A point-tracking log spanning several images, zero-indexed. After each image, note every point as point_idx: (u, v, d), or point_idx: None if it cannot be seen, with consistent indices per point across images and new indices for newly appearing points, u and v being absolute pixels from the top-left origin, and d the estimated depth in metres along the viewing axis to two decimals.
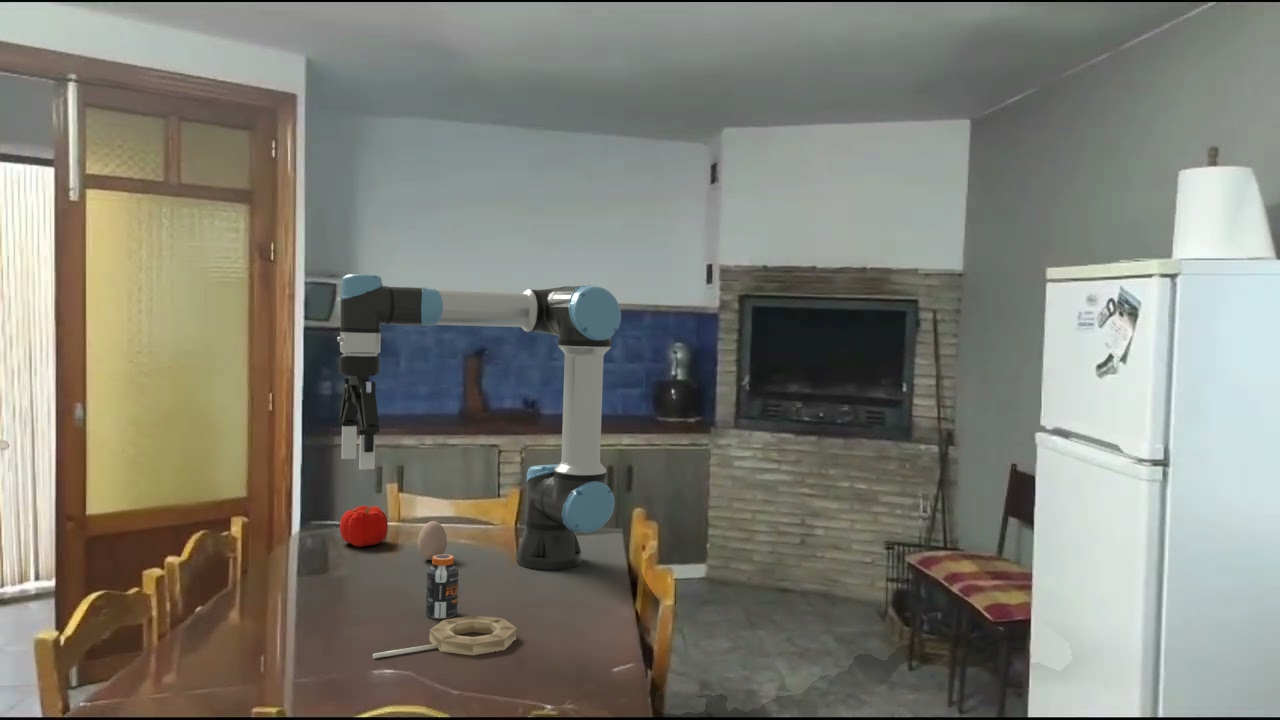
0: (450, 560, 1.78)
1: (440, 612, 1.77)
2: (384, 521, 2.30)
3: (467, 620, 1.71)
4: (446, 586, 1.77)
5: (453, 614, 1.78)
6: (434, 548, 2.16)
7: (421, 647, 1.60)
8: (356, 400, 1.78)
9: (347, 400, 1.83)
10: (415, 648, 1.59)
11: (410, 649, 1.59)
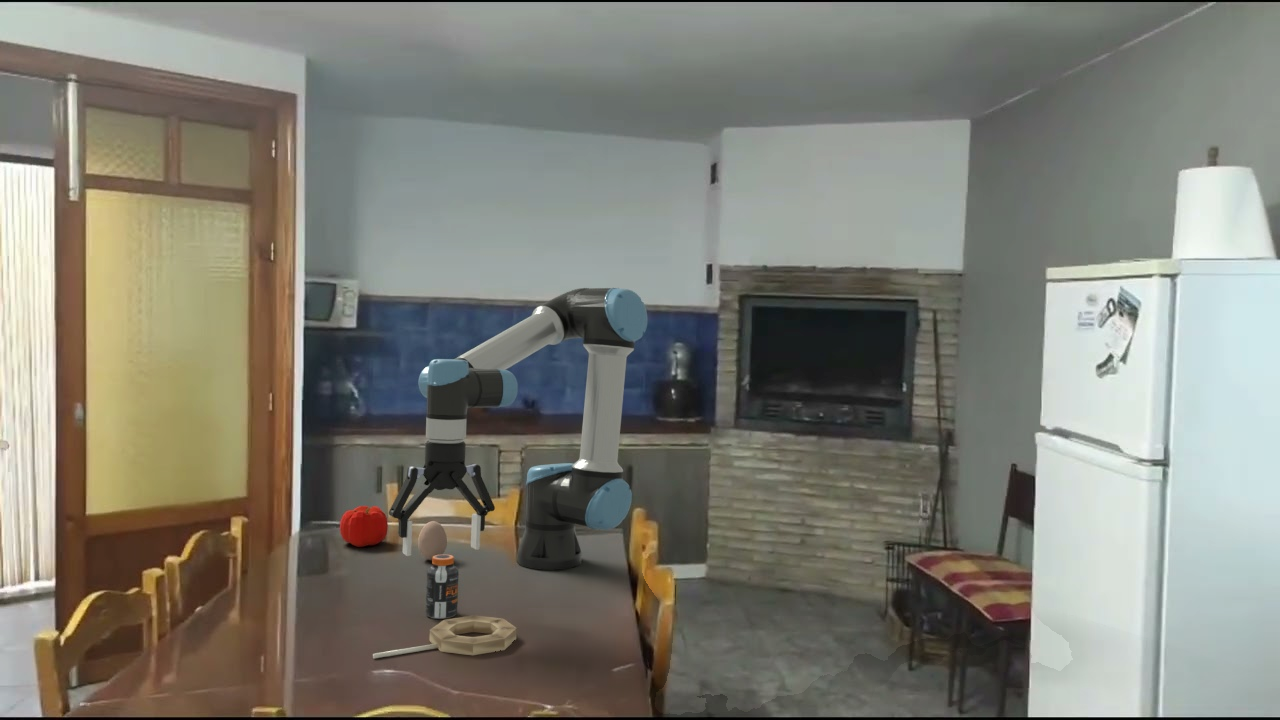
0: (450, 560, 1.78)
1: (440, 612, 1.77)
2: (384, 521, 2.30)
3: (467, 620, 1.71)
4: (446, 586, 1.77)
5: (453, 614, 1.78)
6: (434, 548, 2.16)
7: (421, 647, 1.60)
8: (422, 484, 1.78)
9: None
10: (415, 648, 1.59)
11: (410, 649, 1.59)
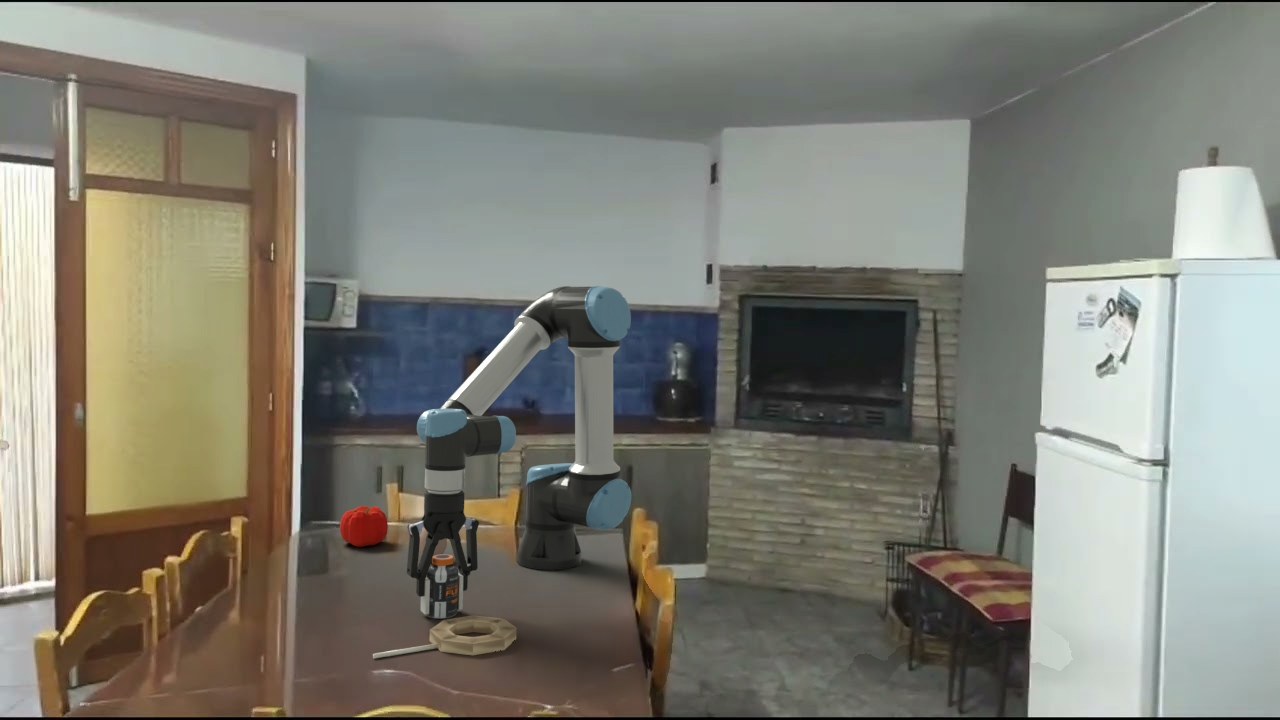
0: (450, 560, 1.78)
1: (440, 612, 1.77)
2: (384, 521, 2.30)
3: (467, 620, 1.71)
4: (446, 585, 1.77)
5: (453, 614, 1.78)
6: None
7: (421, 647, 1.60)
8: (426, 538, 1.79)
9: None
10: (415, 648, 1.59)
11: (410, 649, 1.59)
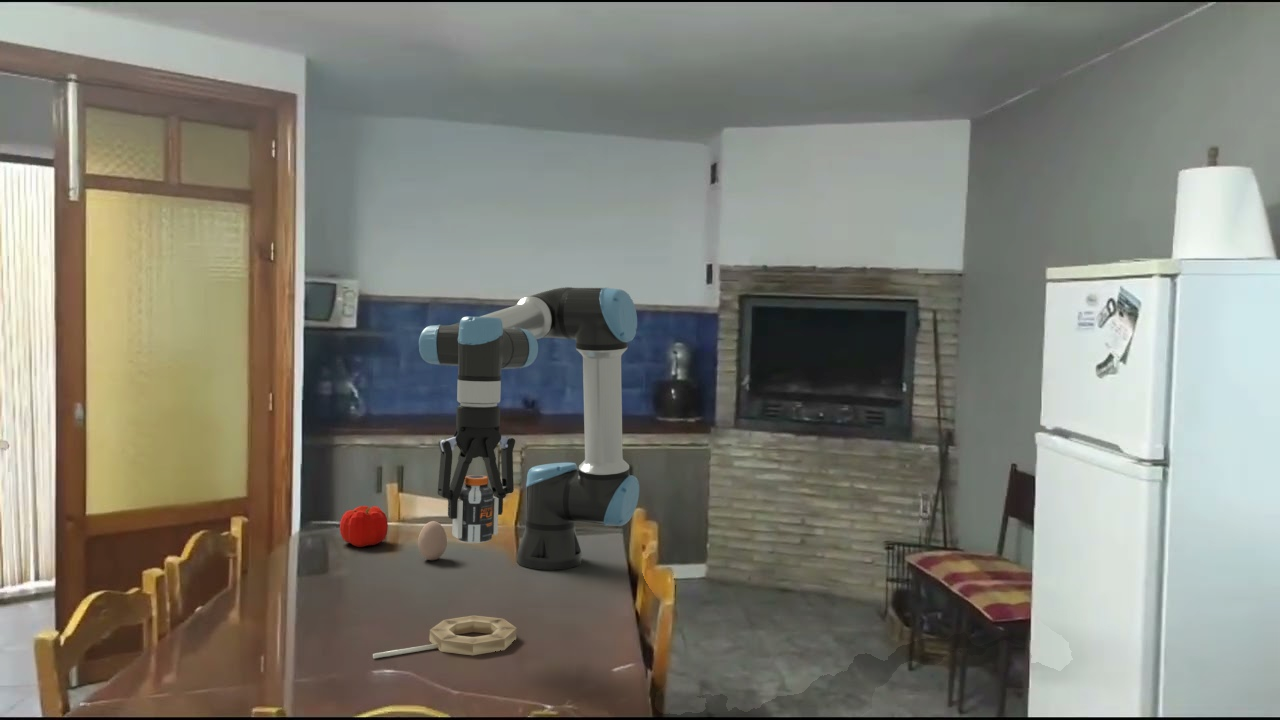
0: (484, 480, 1.64)
1: (474, 536, 1.63)
2: (384, 521, 2.30)
3: (467, 620, 1.71)
4: (481, 507, 1.63)
5: (488, 539, 1.64)
6: (434, 548, 2.16)
7: (421, 647, 1.60)
8: (458, 457, 1.65)
9: (482, 456, 1.67)
10: (415, 648, 1.59)
11: (410, 649, 1.59)
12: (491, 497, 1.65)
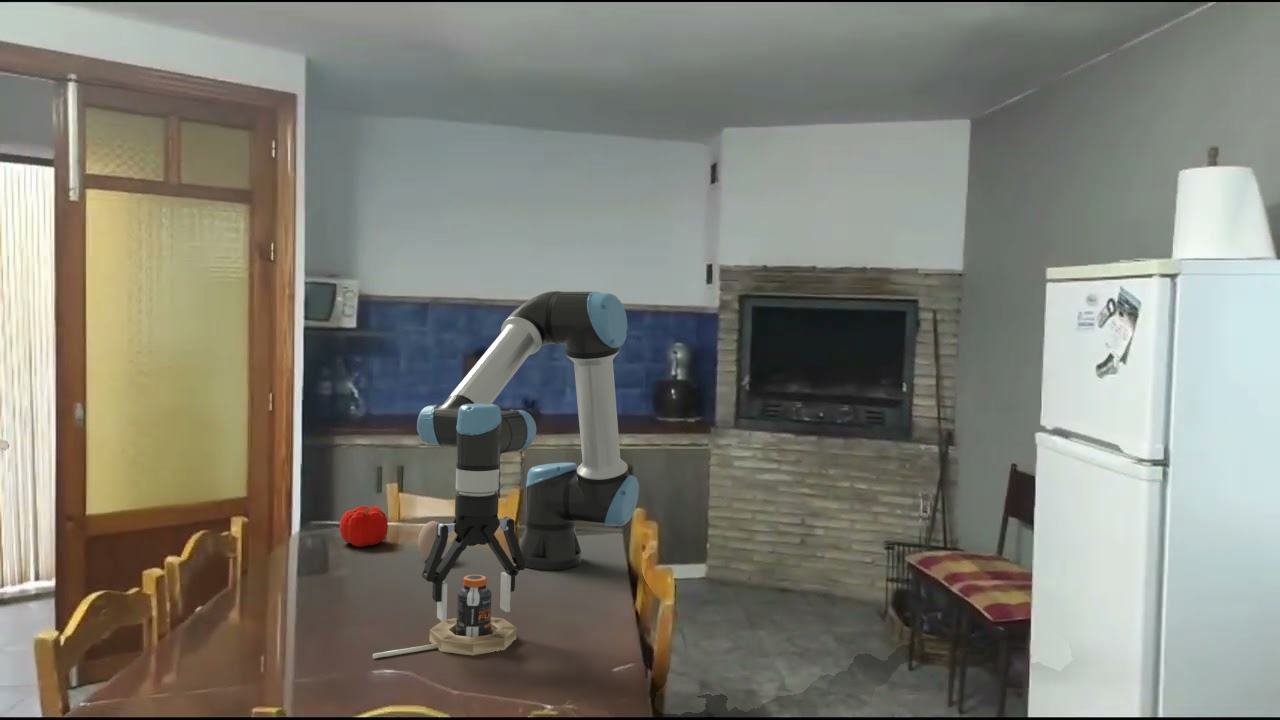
0: (483, 581, 1.65)
1: None
2: (384, 521, 2.30)
3: None
4: (479, 609, 1.63)
5: None
6: None
7: (421, 647, 1.60)
8: (453, 541, 1.65)
9: None
10: (415, 648, 1.59)
11: (410, 649, 1.59)
12: (489, 598, 1.65)
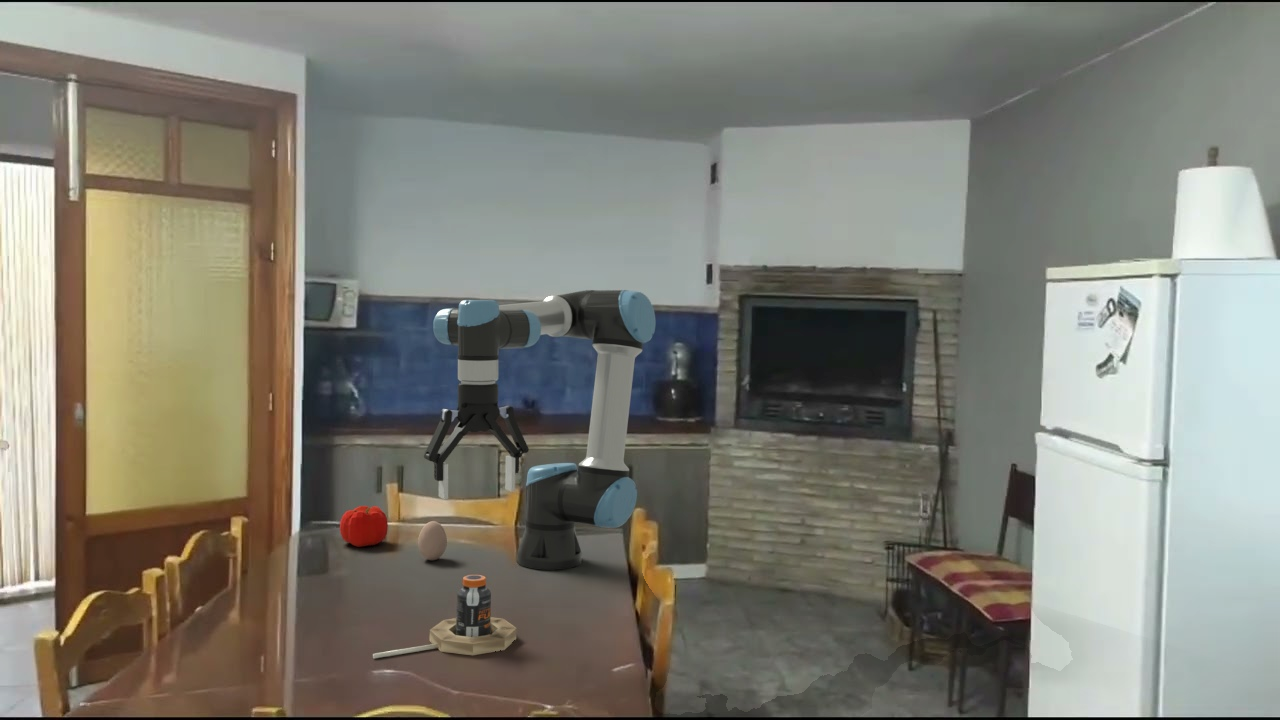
0: (482, 581, 1.65)
1: None
2: (384, 521, 2.30)
3: None
4: (479, 609, 1.63)
5: None
6: (434, 548, 2.16)
7: (421, 647, 1.60)
8: (455, 427, 1.75)
9: None
10: (415, 648, 1.59)
11: (410, 649, 1.59)
12: (489, 598, 1.65)
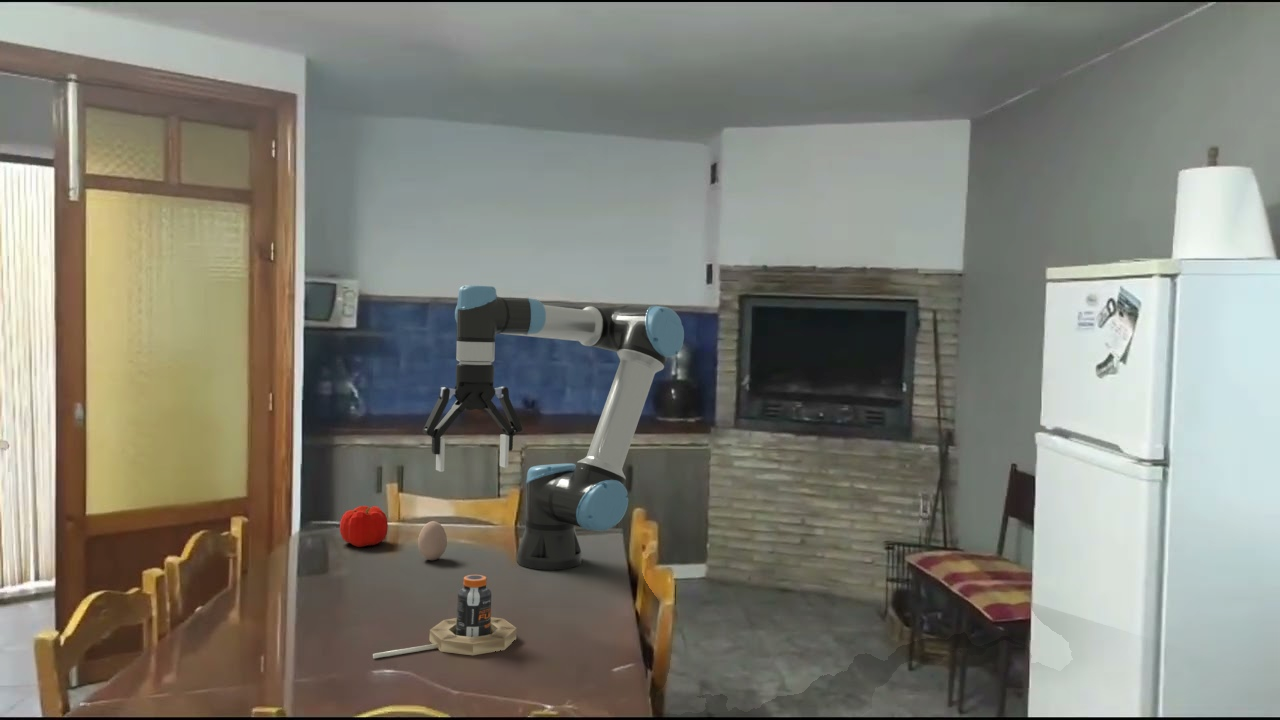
0: (483, 581, 1.65)
1: None
2: (384, 521, 2.30)
3: None
4: (479, 609, 1.63)
5: None
6: (434, 548, 2.16)
7: (421, 647, 1.60)
8: (453, 405, 1.87)
9: (484, 407, 1.90)
10: (415, 648, 1.59)
11: (410, 649, 1.59)
12: (489, 598, 1.65)
